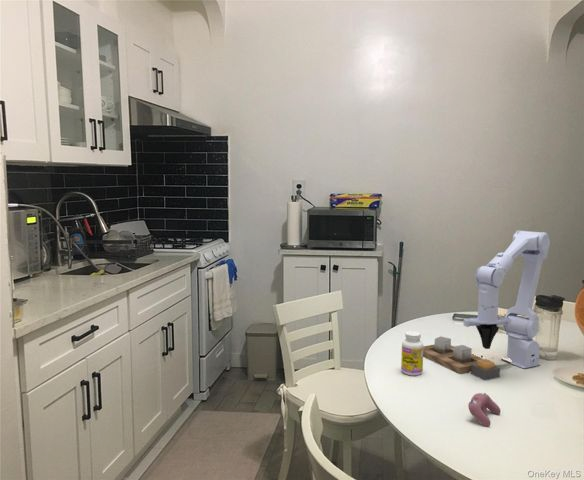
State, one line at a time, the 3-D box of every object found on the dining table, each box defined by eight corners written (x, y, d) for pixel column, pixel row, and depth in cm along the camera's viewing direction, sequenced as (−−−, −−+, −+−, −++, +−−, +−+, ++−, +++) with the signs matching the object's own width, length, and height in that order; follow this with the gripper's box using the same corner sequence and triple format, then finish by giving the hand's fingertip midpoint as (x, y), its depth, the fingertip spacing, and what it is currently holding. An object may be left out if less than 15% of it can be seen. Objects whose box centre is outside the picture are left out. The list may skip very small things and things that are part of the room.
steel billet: (450, 355, 177) (450, 338, 177) (444, 358, 175) (445, 341, 174) (440, 352, 180) (440, 336, 180) (434, 355, 177) (434, 338, 177)
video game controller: (486, 415, 136) (475, 390, 137) (502, 412, 133) (491, 386, 134) (474, 429, 128) (462, 402, 129) (490, 426, 125) (478, 399, 127)
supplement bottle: (398, 374, 161) (399, 334, 159) (404, 367, 167) (405, 329, 165) (419, 377, 158) (420, 337, 156) (424, 370, 164) (425, 331, 162)
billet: (471, 366, 167) (471, 348, 167) (461, 367, 166) (462, 350, 165) (462, 362, 171) (462, 344, 170) (453, 363, 169) (453, 346, 169)
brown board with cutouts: (490, 367, 166) (490, 361, 165) (459, 374, 160) (460, 368, 160) (444, 347, 185) (444, 342, 185) (416, 353, 180) (416, 347, 180)
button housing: (499, 377, 158) (500, 367, 157) (485, 380, 155) (485, 370, 155) (485, 370, 163) (485, 361, 163) (470, 373, 161) (471, 364, 160)
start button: (494, 371, 158) (494, 362, 158) (485, 373, 157) (485, 364, 156) (485, 367, 161) (485, 358, 161) (476, 369, 160) (477, 360, 160)
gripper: (503, 301, 161) (501, 342, 163) (459, 302, 160) (458, 344, 161) (515, 306, 154) (513, 350, 156) (470, 308, 153) (468, 352, 154)
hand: (486, 347), depth 158 cm, fingers closed
